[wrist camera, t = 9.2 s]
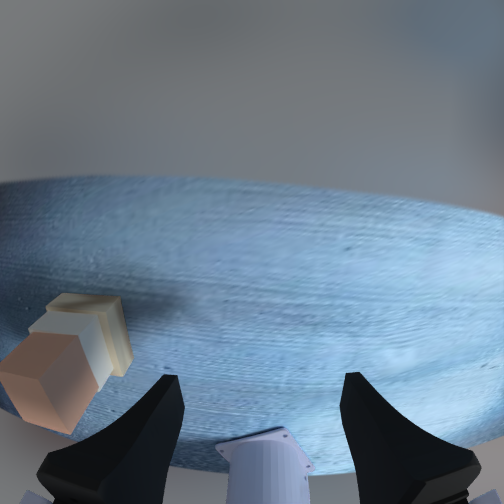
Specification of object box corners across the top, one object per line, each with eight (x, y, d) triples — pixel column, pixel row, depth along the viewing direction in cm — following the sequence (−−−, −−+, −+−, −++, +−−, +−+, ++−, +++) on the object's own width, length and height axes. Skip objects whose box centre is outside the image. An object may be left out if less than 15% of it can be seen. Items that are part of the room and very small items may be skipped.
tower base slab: (121, 294, 23) (105, 312, 20) (135, 356, 25) (123, 376, 22) (63, 291, 23) (45, 306, 20) (79, 348, 25) (65, 366, 22)
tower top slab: (97, 314, 20) (78, 335, 17) (113, 368, 22) (99, 392, 19) (48, 310, 20) (27, 328, 18) (66, 361, 22) (49, 381, 19)
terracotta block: (77, 335, 17) (38, 379, 13) (99, 387, 19) (70, 434, 14) (32, 331, 18) (-7, 368, 13) (54, 380, 19) (24, 420, 14)
